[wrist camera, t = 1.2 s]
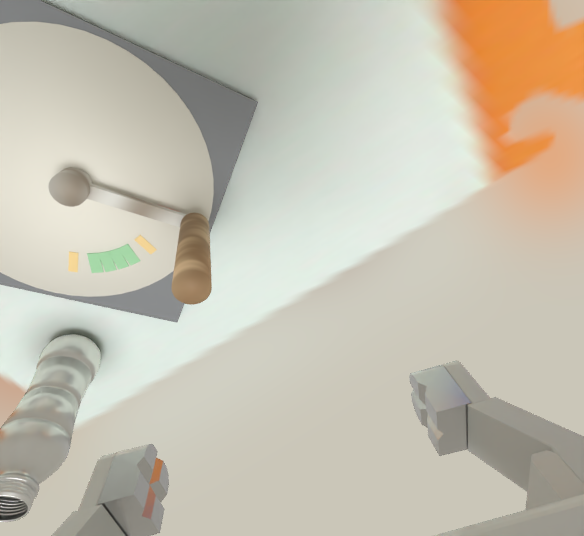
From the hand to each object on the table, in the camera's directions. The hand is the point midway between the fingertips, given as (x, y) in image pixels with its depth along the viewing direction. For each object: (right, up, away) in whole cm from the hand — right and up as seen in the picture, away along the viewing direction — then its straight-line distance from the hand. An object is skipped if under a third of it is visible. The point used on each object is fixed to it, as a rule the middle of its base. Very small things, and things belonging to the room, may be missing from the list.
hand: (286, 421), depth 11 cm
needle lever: (-16, +11, +27) cm, 33 cm away
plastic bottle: (-27, -5, +36) cm, 45 cm away
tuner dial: (-22, +14, +26) cm, 37 cm away
